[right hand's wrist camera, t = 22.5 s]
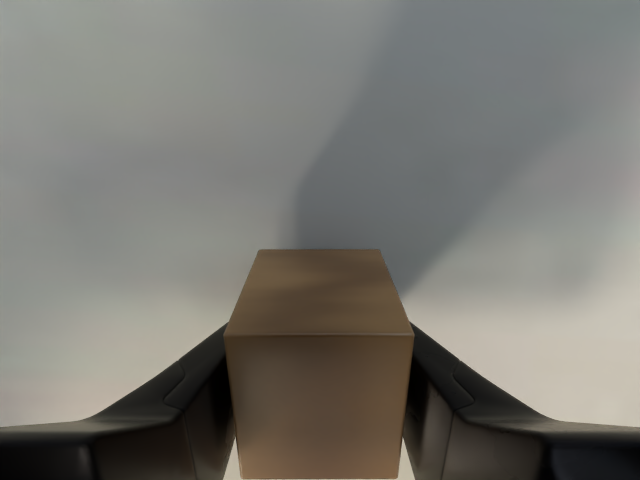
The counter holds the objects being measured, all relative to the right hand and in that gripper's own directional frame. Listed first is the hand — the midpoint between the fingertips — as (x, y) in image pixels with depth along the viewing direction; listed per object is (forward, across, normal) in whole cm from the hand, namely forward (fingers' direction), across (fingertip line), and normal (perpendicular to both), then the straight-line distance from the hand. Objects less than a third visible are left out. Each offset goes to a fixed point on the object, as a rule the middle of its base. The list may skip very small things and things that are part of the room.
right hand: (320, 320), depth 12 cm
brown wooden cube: (+1, 0, 0) cm, 1 cm away
